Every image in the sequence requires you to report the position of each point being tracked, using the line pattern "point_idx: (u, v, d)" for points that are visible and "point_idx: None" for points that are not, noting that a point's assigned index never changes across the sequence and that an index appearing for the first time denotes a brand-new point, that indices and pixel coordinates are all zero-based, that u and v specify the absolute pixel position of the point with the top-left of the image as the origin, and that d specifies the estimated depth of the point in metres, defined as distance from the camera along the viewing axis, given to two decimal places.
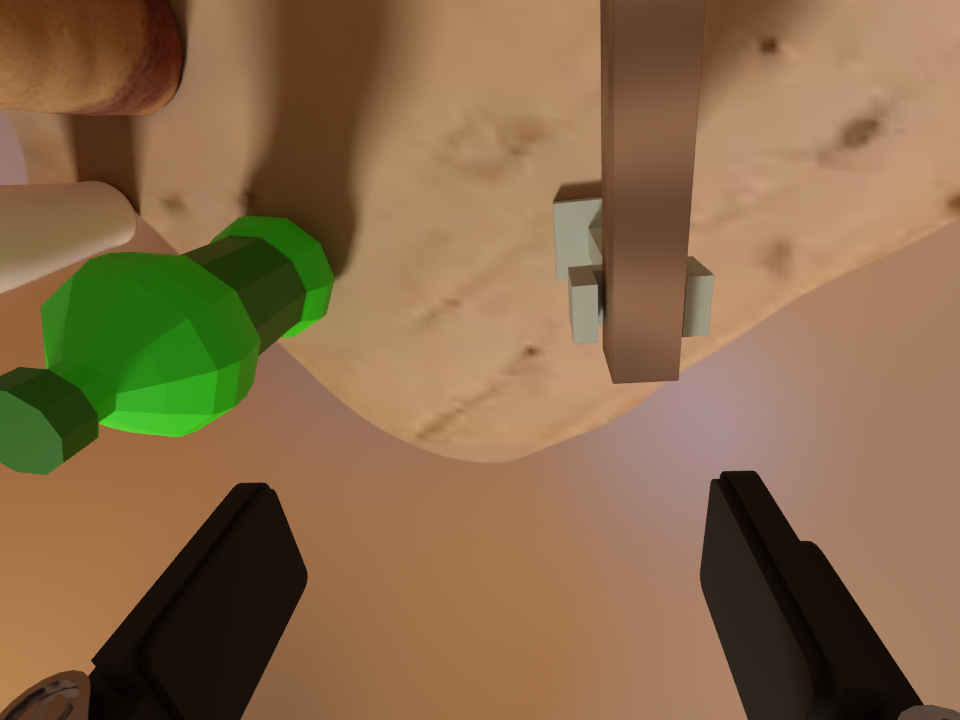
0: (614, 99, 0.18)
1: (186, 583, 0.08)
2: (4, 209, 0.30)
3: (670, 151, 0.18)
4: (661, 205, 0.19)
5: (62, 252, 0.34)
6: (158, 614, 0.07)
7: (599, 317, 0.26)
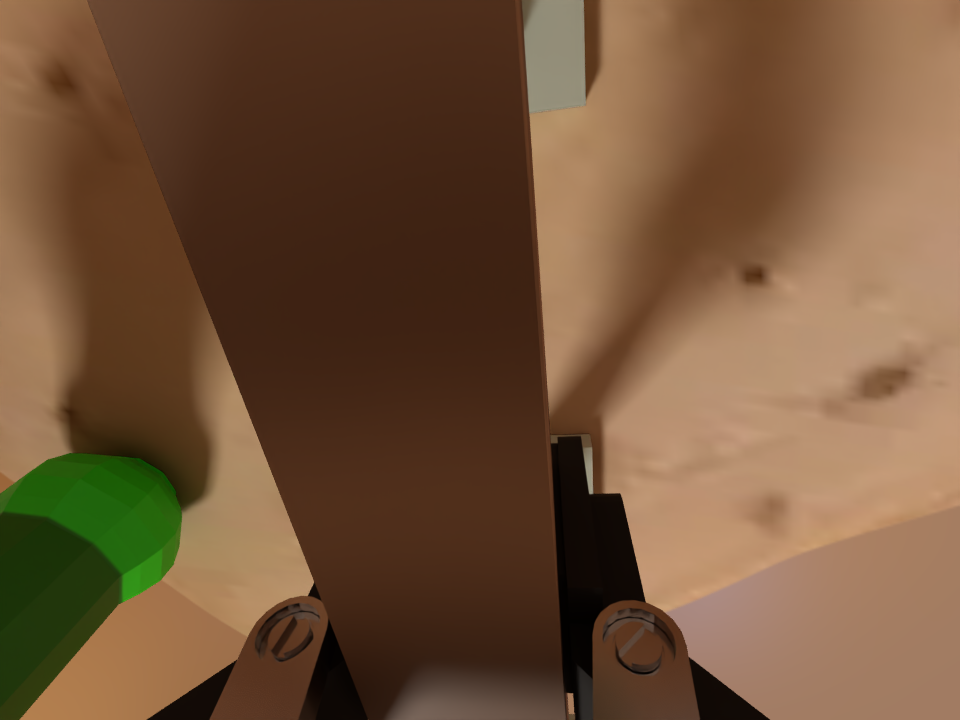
0: None
1: None
2: None
3: None
4: None
5: None
6: None
7: None
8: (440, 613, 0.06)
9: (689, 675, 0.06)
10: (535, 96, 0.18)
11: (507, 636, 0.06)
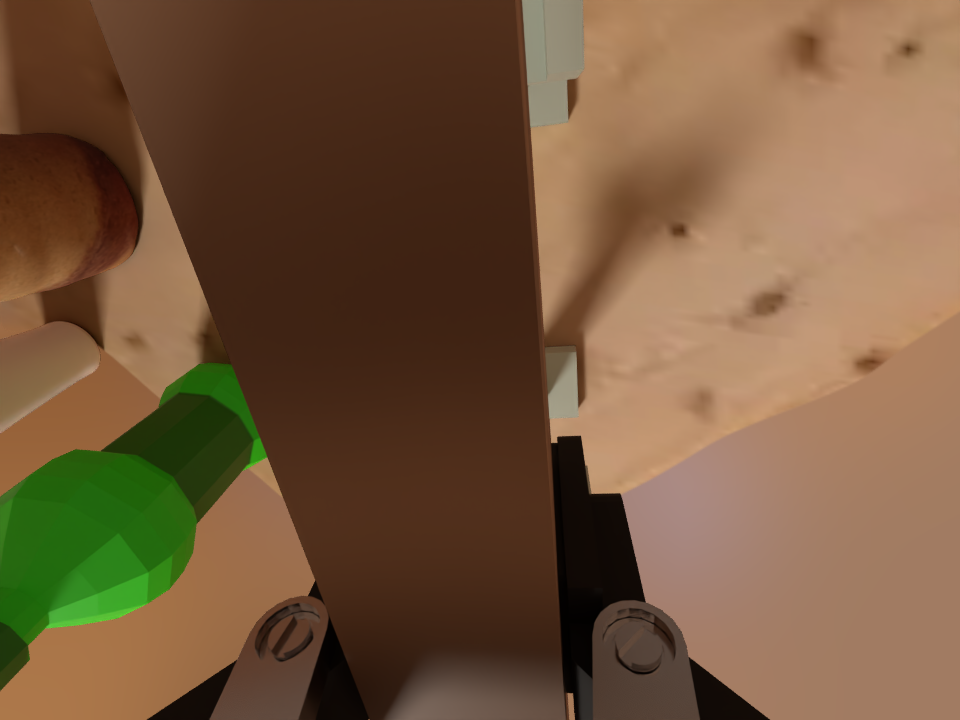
0: None
1: None
2: None
3: None
4: None
5: (23, 408, 0.36)
6: None
7: None
8: (441, 611, 0.06)
9: (688, 675, 0.06)
10: (538, 116, 0.30)
11: (508, 635, 0.06)
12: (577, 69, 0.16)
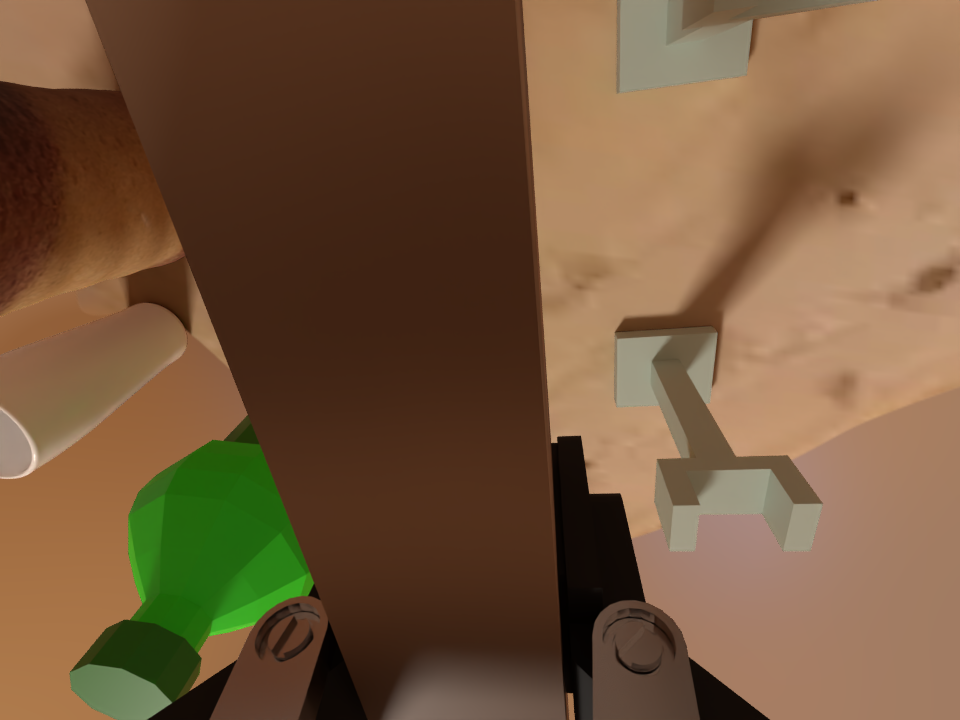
0: None
1: None
2: (71, 370, 0.30)
3: None
4: None
5: (123, 395, 0.34)
6: None
7: None
8: (441, 615, 0.06)
9: (689, 675, 0.06)
10: (712, 69, 0.27)
11: (507, 640, 0.06)
12: None
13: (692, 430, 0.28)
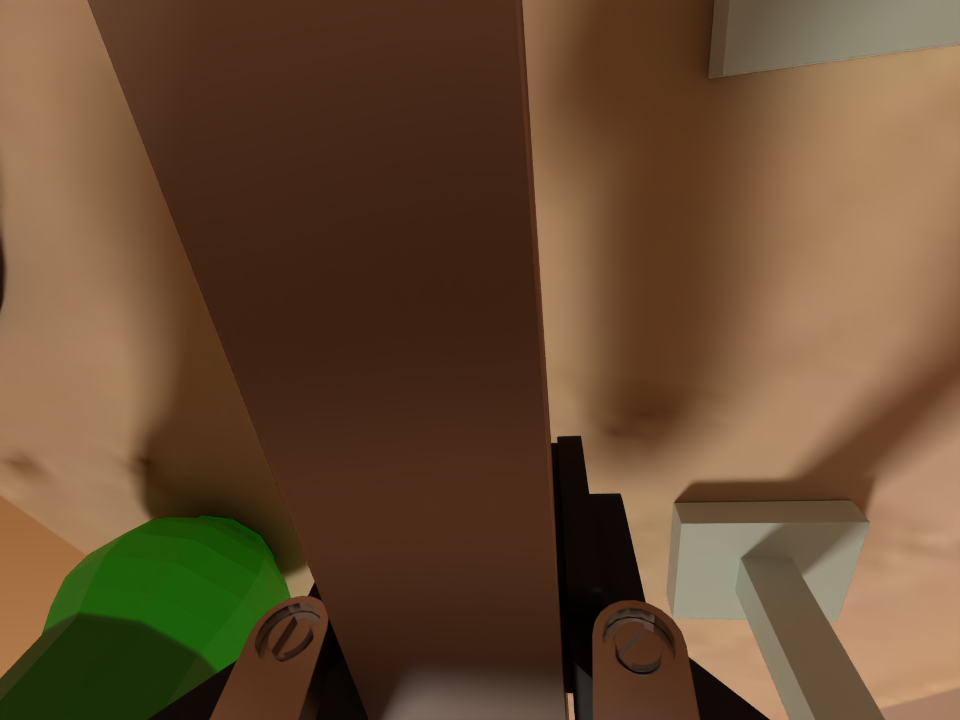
0: None
1: None
2: None
3: None
4: None
5: None
6: None
7: None
8: (442, 616, 0.06)
9: (688, 675, 0.06)
10: (950, 19, 0.12)
11: (508, 640, 0.06)
12: None
13: None
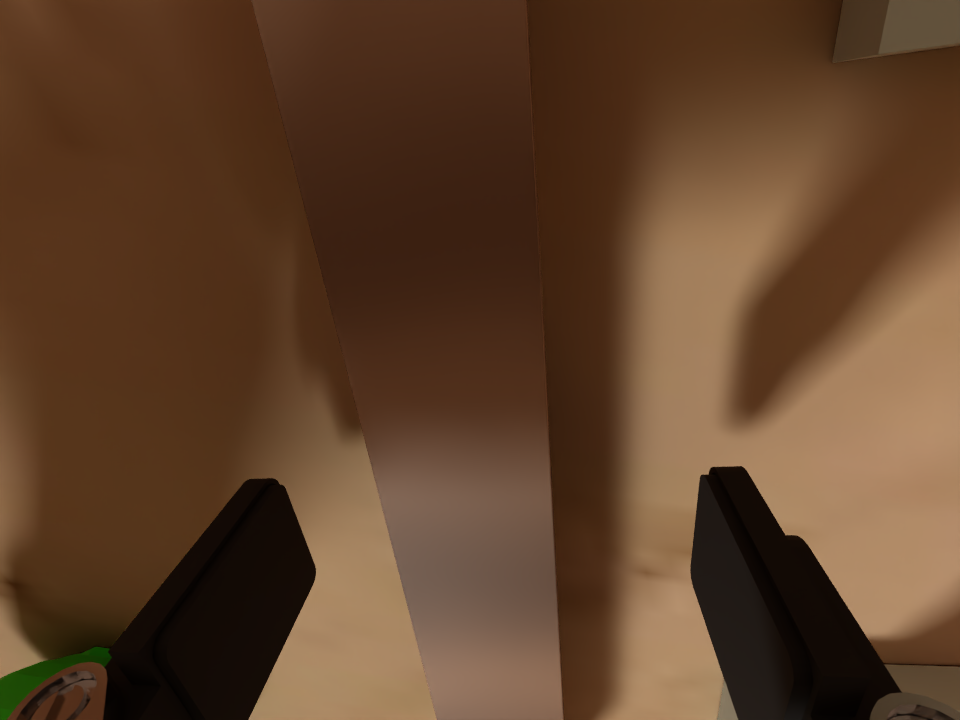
0: (418, 637, 0.10)
1: (199, 577, 0.08)
2: None
3: (521, 701, 0.11)
4: None
5: None
6: (172, 607, 0.07)
7: None
8: (463, 485, 0.08)
9: None
10: None
11: (512, 504, 0.08)
12: None
13: None
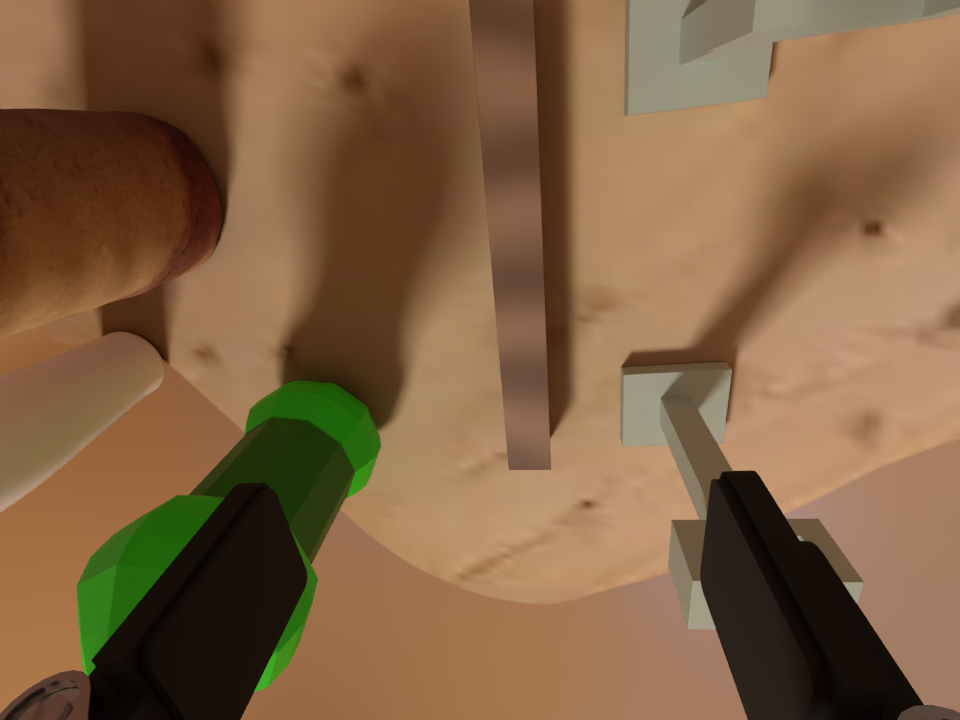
0: None
1: (186, 583, 0.08)
2: (28, 412, 0.27)
3: (531, 340, 0.30)
4: (529, 368, 0.31)
5: (89, 435, 0.31)
6: (158, 614, 0.07)
7: None
8: (516, 240, 0.27)
9: None
10: (729, 91, 0.25)
11: (530, 247, 0.27)
12: None
13: (708, 483, 0.25)
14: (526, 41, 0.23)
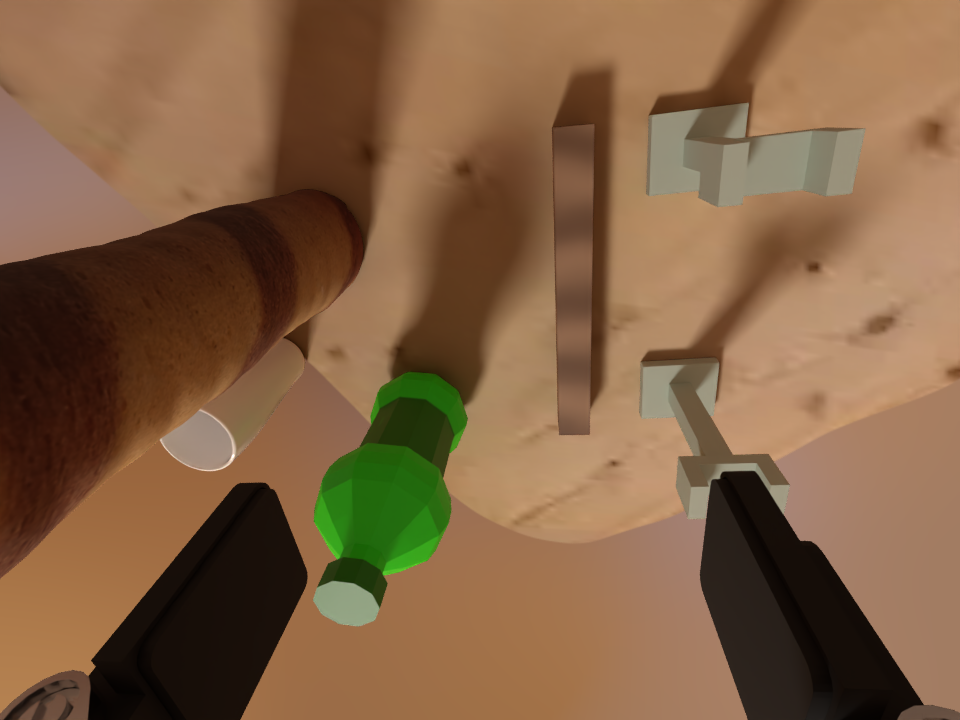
0: (557, 323, 0.43)
1: (186, 583, 0.08)
2: (249, 392, 0.41)
3: (581, 343, 0.43)
4: (578, 362, 0.44)
5: (273, 410, 0.45)
6: (157, 614, 0.07)
7: None
8: (574, 277, 0.41)
9: None
10: None
11: (584, 281, 0.41)
12: (846, 193, 0.24)
13: (701, 436, 0.39)
14: (588, 156, 0.36)
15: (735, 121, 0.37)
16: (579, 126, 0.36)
